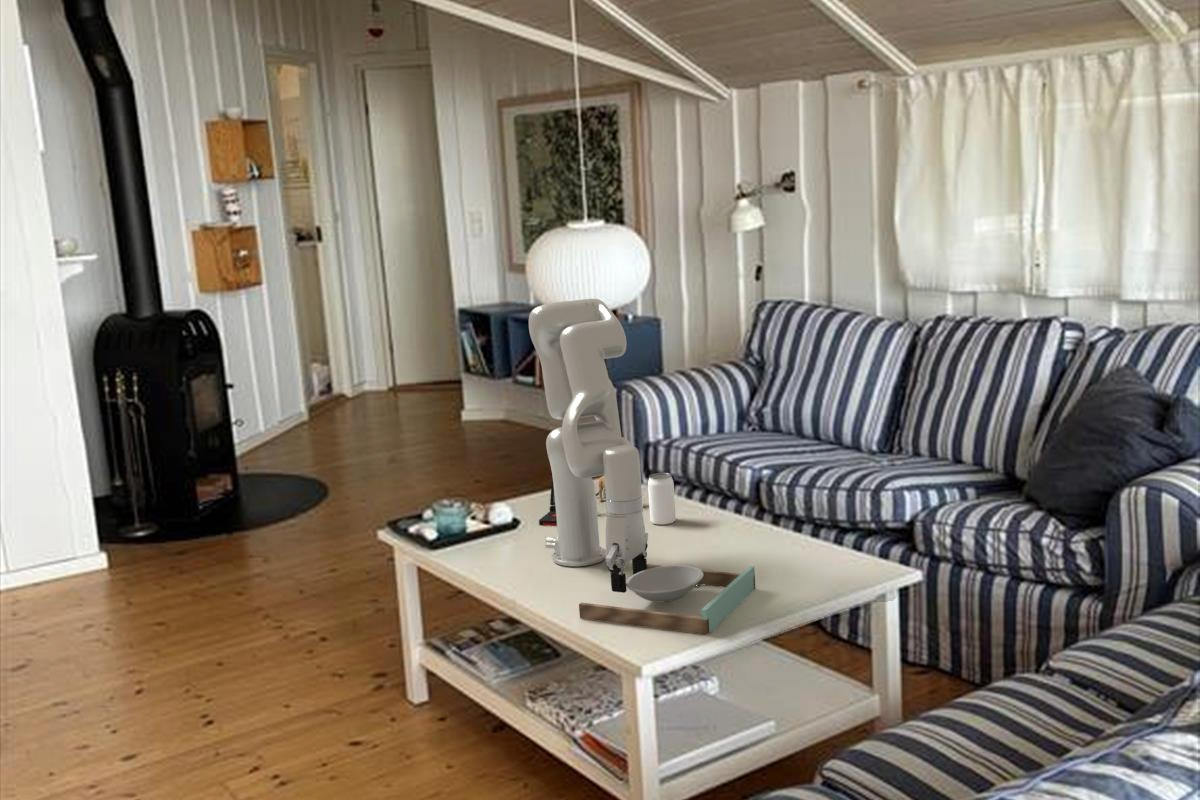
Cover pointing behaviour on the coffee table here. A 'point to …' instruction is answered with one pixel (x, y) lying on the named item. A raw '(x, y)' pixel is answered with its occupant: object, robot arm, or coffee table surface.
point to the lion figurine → (601, 489)
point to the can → (661, 499)
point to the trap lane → (711, 615)
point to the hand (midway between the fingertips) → (629, 583)
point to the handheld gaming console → (550, 516)
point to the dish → (665, 582)
